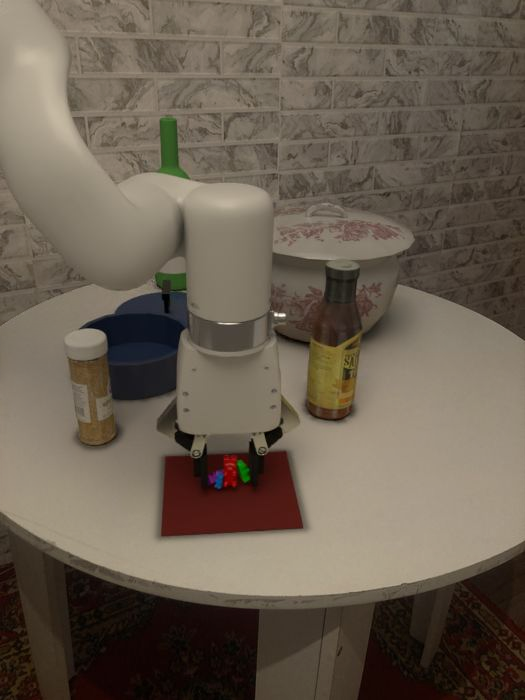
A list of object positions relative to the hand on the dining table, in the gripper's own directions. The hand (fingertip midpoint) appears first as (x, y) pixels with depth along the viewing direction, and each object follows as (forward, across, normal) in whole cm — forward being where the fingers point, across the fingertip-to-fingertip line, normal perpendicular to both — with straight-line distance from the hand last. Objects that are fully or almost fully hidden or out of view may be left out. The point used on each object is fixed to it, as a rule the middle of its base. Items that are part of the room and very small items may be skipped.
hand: (228, 477), depth 63 cm
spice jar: (+2, +15, -11) cm, 19 cm away
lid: (+1, +8, -44) cm, 45 cm away
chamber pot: (+2, -17, -40) cm, 44 cm away
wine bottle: (+2, +7, -59) cm, 59 cm away
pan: (+2, +12, -27) cm, 30 cm away
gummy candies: (+1, 0, 0) cm, 1 cm away
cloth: (+2, 0, 0) cm, 2 cm away
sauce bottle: (+2, -14, -15) cm, 21 cm away
